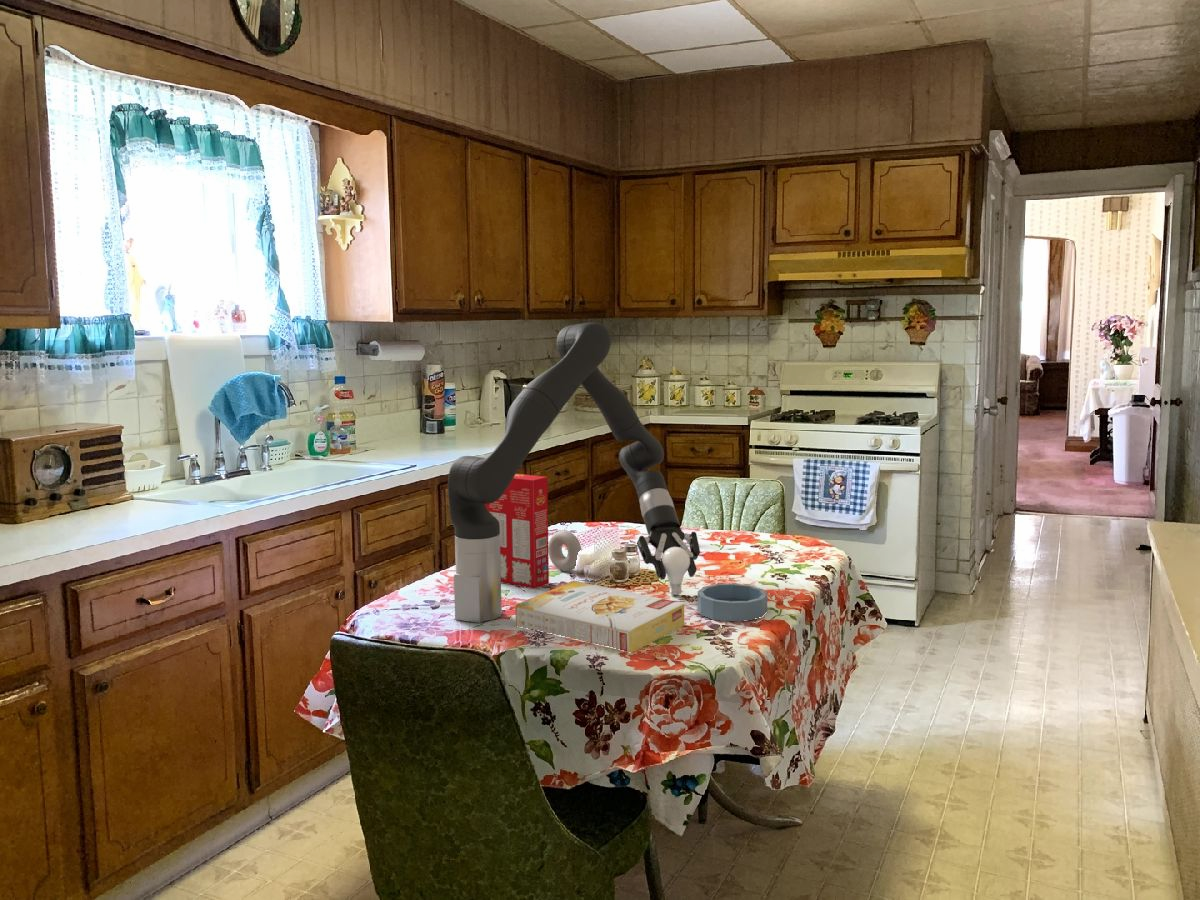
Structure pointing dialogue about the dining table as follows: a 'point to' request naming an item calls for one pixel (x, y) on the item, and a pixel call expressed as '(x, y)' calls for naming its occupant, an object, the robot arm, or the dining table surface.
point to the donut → (556, 550)
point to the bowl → (732, 602)
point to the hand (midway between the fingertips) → (678, 576)
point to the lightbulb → (675, 567)
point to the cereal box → (601, 615)
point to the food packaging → (523, 531)
